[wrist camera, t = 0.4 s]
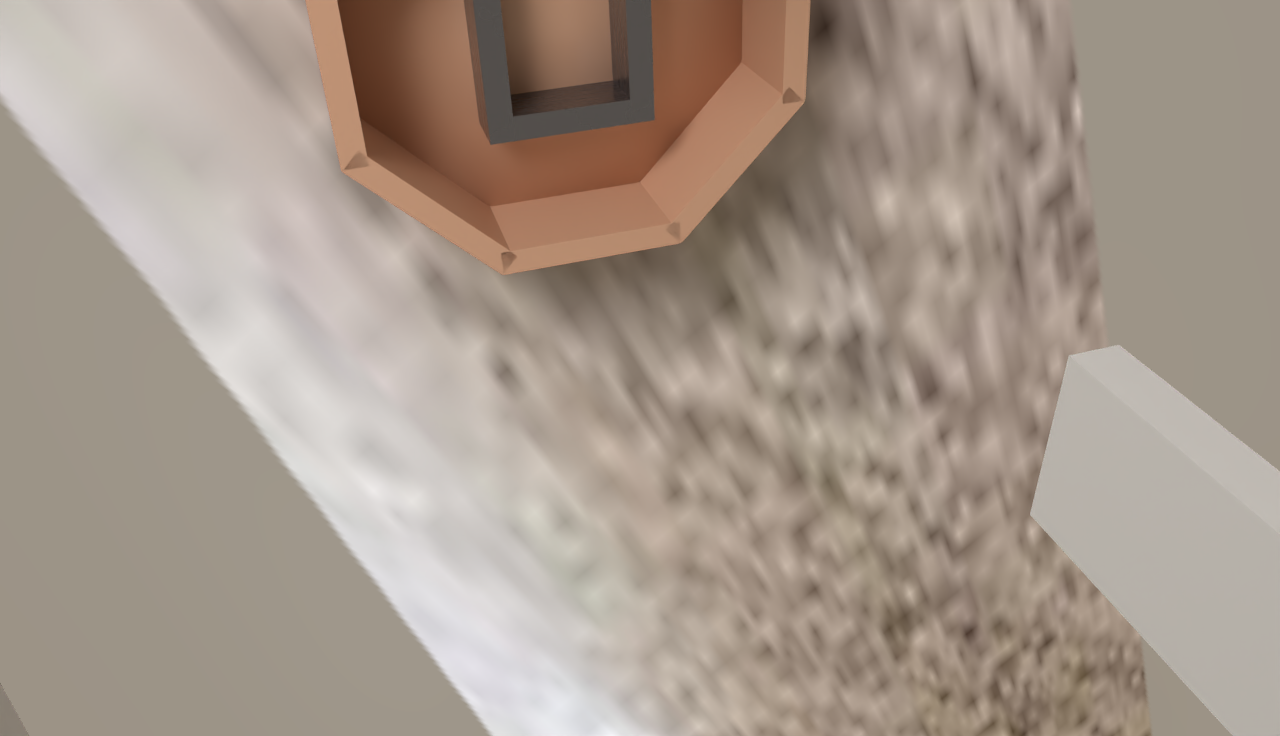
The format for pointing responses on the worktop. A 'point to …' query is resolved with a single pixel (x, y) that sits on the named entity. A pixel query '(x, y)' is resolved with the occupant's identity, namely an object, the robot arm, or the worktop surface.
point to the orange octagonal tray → (567, 163)
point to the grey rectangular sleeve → (567, 105)
